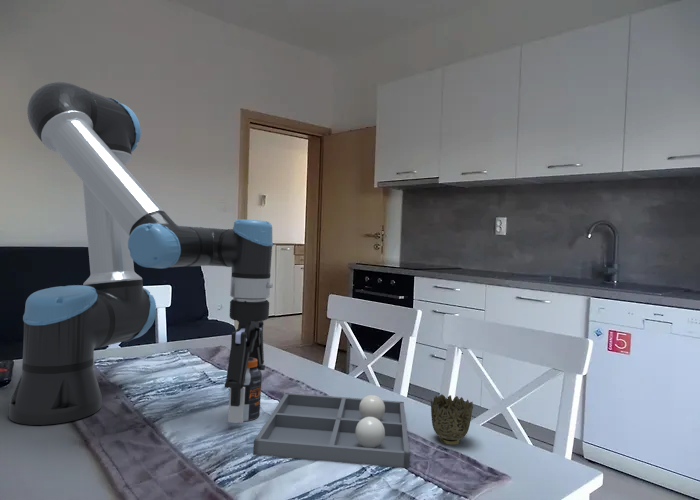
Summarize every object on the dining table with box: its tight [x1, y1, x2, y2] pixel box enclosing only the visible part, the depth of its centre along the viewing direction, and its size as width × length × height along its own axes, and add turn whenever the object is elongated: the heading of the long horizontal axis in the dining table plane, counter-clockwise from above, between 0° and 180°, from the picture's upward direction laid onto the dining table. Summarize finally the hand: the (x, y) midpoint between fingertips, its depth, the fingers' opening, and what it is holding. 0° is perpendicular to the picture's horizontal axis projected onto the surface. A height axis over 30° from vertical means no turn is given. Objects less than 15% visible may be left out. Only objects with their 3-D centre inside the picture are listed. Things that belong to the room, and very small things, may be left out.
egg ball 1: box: [359, 394, 385, 420], centre depth 93 cm, size 5×5×5 cm
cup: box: [430, 393, 474, 446], centre depth 86 cm, size 8×7×8 cm
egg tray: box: [252, 392, 411, 469], centre depth 88 cm, size 24×24×3 cm
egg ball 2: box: [355, 417, 385, 448], centre depth 81 cm, size 5×5×5 cm
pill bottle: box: [234, 357, 263, 422], centre depth 95 cm, size 6×6×11 cm
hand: (244, 411), depth 95 cm, fingers open, 10 cm apart
